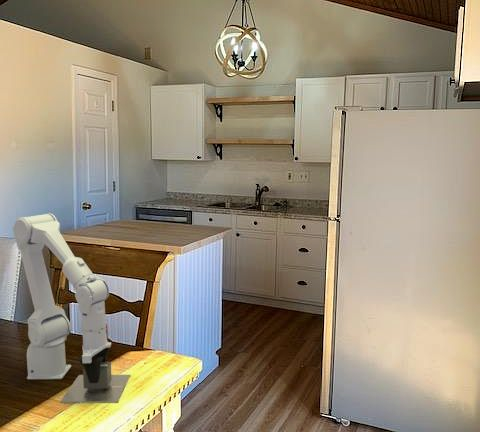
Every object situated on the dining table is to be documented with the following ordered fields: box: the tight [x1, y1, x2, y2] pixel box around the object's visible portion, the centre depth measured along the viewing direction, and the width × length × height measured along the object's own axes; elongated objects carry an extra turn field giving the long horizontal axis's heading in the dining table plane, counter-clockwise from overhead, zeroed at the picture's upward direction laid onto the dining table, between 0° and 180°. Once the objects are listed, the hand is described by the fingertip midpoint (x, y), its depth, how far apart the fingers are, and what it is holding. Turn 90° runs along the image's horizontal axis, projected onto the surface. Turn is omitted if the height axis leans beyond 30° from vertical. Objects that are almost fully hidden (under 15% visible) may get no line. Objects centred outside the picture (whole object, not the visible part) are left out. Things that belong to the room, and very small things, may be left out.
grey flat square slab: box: [59, 374, 131, 404], centre depth 127 cm, size 14×14×3 cm
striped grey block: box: [82, 361, 112, 388], centre depth 127 cm, size 6×4×5 cm
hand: (96, 377), depth 127 cm, fingers closed on striped grey block, 4 cm apart
